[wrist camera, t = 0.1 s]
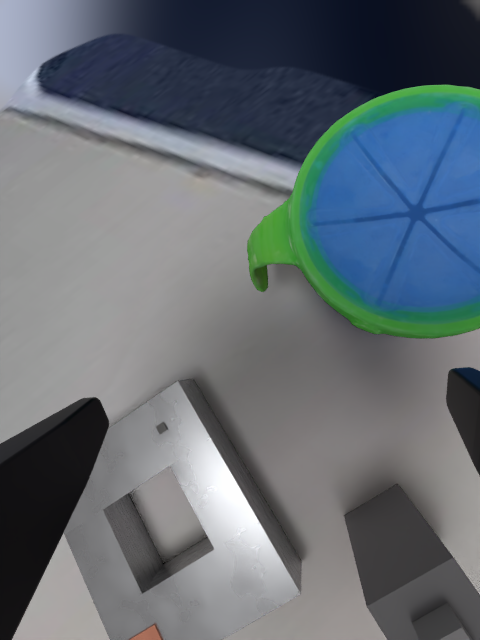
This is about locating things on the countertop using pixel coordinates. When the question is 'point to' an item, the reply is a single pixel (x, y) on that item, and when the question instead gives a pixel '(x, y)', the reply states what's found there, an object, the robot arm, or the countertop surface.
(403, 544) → the plug
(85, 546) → the socket plate
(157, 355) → the countertop surface
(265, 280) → the snack cup
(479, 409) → the robot arm
